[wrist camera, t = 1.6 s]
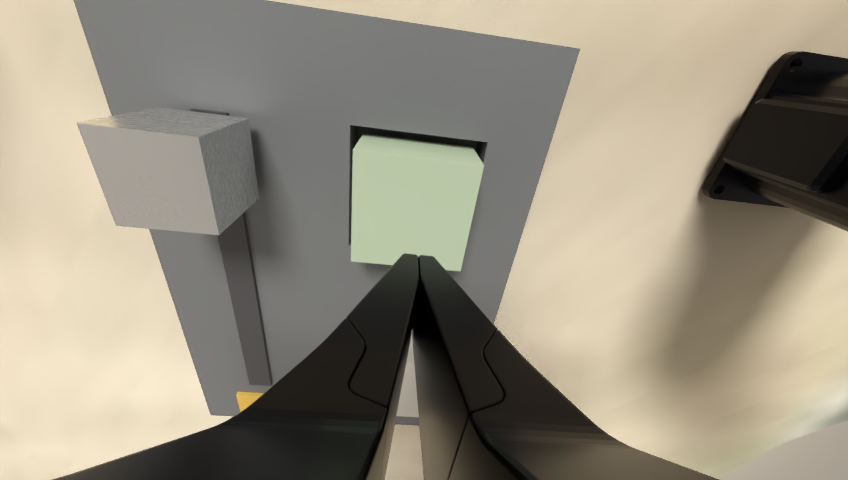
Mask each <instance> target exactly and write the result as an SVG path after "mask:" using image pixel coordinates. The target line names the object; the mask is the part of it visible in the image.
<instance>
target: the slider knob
mask: <svg viewBox="0 0 848 480" xmlns="http://www.w3.org/2000/svg"><path fill="white" fill-rule="evenodd" d="M77 125H78V128H79V131H80V133H81V136H82V138H83V141H84V144H85V146H86V149H87V151H88V154H89V157H90V159H91V162H92V164H93V167H94V170H95V172H96V175H97V177H98V180H99V183H100V185H101V188H102V190H103V193H104V195H105V198H106V201H107V203H108V206H109V208H110V211H111V214H112V216H113V219H114V221H115V224H116V226H126V227H137V228H147V229H158V230H169V231H179V232H190V233H200V234H211V235H220V234H221V233H222V232H223V231H224V230H225V229H226V228H228V227H229V226H230V225H231V224H232V223H233V222H234V221H235V220H236V219H237V218H238V217H240V216H241V215H242V214H243V213H244V212H245V211H246V210H247V209H248V208H249V207H250V206H251V205H253V204H254V203H255V202H256V201H257V200H258V199H259V193H258V185H257V178H256V170H255V163H254V155H253V148H252V140H251V133H250V125H249V118H242V117H234V116H226V115H218V114H210V113H202V112H194V111H186V110H178V109H170V108H162V107H154V108H149V109H144V110H139V111H134V112H129V113H124V114H119V115H114V116H109V117H104V118H99V119H94V120H89V121H84V122H79V123H77Z"/></svg>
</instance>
